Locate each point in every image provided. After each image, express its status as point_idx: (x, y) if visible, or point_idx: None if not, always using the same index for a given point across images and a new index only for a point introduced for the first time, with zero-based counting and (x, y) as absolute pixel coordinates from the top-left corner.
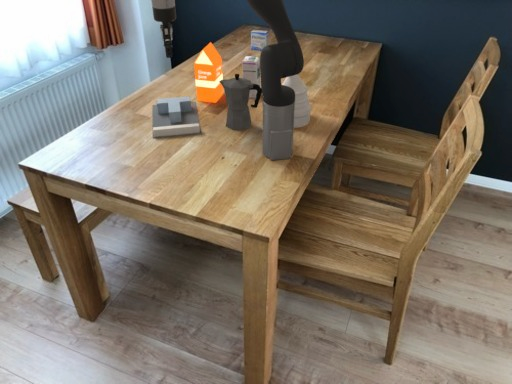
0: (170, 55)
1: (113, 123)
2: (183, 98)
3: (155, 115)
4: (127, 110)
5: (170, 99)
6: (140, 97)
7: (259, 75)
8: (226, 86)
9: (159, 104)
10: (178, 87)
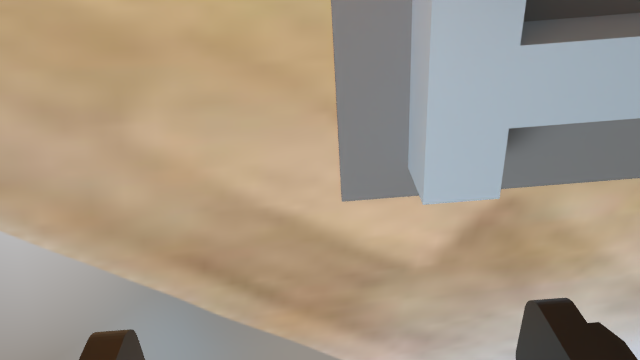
0: (615, 348)
1: (508, 336)
2: (465, 13)
3: None
4: (379, 304)
5: (455, 114)
6: (215, 268)
7: None
8: None
9: (499, 179)
10: (28, 52)
